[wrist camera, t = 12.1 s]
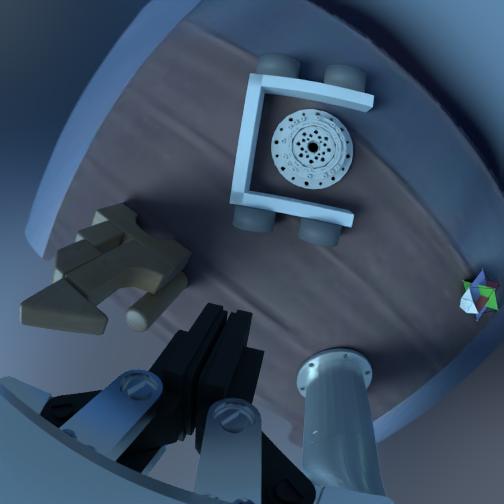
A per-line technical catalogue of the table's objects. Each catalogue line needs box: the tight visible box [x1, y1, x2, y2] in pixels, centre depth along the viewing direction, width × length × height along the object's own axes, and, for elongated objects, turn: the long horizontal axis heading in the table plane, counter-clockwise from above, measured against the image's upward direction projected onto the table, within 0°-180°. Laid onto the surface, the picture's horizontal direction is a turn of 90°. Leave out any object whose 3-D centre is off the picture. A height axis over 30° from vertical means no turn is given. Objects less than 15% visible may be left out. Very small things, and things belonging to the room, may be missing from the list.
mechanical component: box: [271, 109, 353, 189], centre depth 31 cm, size 10×4×10 cm
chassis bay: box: [230, 53, 374, 247], centre depth 30 cm, size 21×14×5 cm
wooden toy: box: [20, 203, 192, 335], centre depth 29 cm, size 16×7×25 cm, turn 57°
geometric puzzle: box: [460, 269, 501, 321], centre depth 30 cm, size 7×7×8 cm
